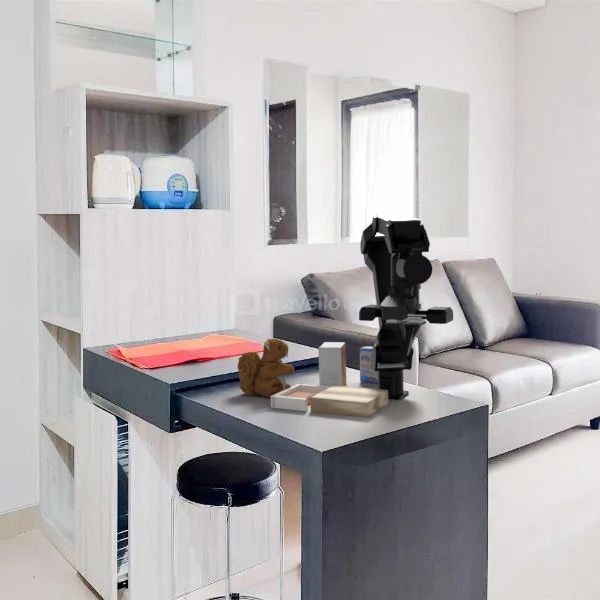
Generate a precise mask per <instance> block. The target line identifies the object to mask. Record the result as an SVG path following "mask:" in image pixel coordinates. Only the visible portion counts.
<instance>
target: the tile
mask: <svg viewBox="0 0 600 600" xmlns="http://www.w3.org/2000/svg"><path fill="white" fill-rule="evenodd" d="M314 395H316V393H306V392H295V393H293V394H290V395H288V396H286V397H296V398H306V399H307V402H308V405H311V399H310V397H312V396H314Z"/></svg>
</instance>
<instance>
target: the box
mask: <svg viewBox="0 0 600 600" xmlns="http://www.w3.org/2000/svg"><path fill="white" fill-rule="evenodd" d="M328 388H330V387H329V386H320V385H319V384H318V385H316V384H305V383H297V384H295V385H293V386H291V387H290V388H288V389H286V390H283V391H281V392H279V393H277V394H275V395H272V396H271V398H270V408H273V409H280V410H281V409H282V410H291V411H299V412H300V411H301V412H307V411H308V410H309V409H308V406H309V404H308V402H307V399H306V398H296V397H286V396H288V395H290V394H293V393H295V392H306V393H316V394H318V393H320V392H322V391H324V390H326V389H328Z"/></svg>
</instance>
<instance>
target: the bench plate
mask: <svg viewBox="0 0 600 600" xmlns="http://www.w3.org/2000/svg"><path fill="white" fill-rule="evenodd" d="M310 399H311V403H310V411H311V412H315V413H316V412H317V413H327V414H334V415H343V416H345V415H346V416H353V417H360V418H361V417H363V418H369V417H370V416H371V415H373V414H375V413H376V412H378V411H379V410H380V409H382V408H384V407H385V406H387V405H388V404H389V398H388V390H382V389H378V388H367V387H358V386H357V387H356V386H348V385H347V386H346V385H345V386H336V385H334V386H332V387H330V388H328V389H326V390H324V391H322V392H320V393H318V394H316V395H314V396H312V397H310Z"/></svg>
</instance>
